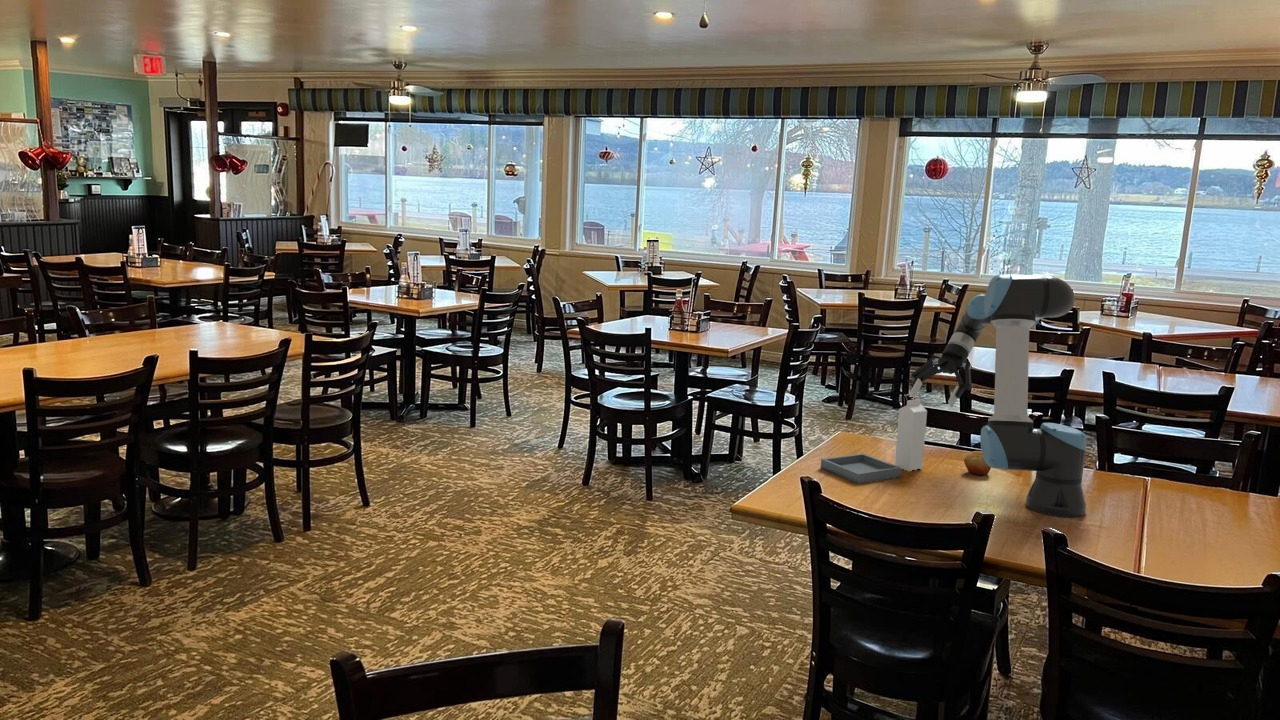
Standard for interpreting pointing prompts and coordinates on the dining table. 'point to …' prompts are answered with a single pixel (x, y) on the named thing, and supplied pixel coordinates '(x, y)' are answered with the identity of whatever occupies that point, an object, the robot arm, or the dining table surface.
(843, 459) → the tray
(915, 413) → the milk
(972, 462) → the fruit
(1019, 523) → the dining table surface
